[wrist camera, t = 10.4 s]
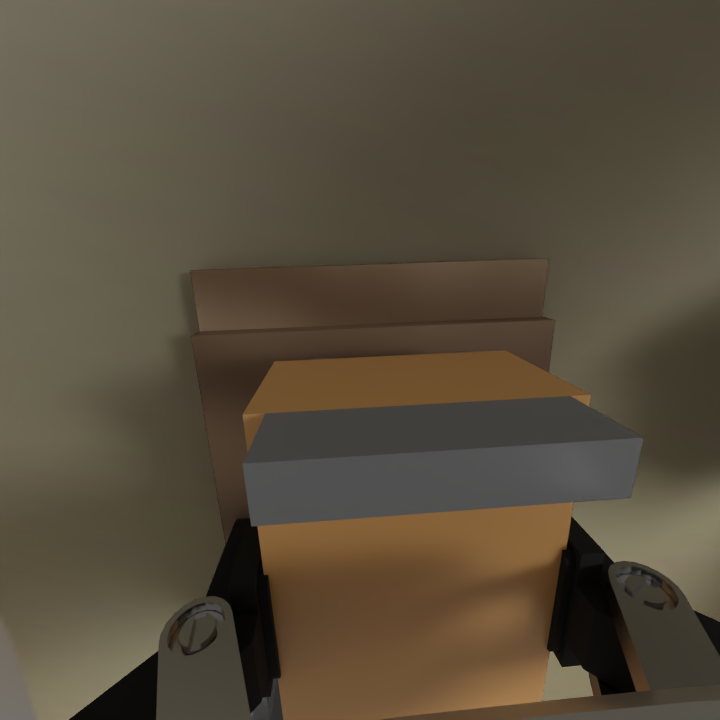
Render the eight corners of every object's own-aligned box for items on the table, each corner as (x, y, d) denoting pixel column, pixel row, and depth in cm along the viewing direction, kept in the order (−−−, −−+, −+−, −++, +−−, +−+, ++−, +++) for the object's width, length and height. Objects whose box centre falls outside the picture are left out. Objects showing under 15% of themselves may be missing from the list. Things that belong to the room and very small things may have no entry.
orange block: (280, 350, 11) (211, 466, 5) (487, 340, 11) (669, 435, 5) (305, 604, 13) (281, 883, 7) (469, 590, 14) (574, 843, 8)
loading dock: (198, 270, 12) (122, 274, 8) (536, 258, 13) (641, 257, 8) (256, 654, 17) (230, 789, 13) (498, 630, 18) (551, 750, 13)
